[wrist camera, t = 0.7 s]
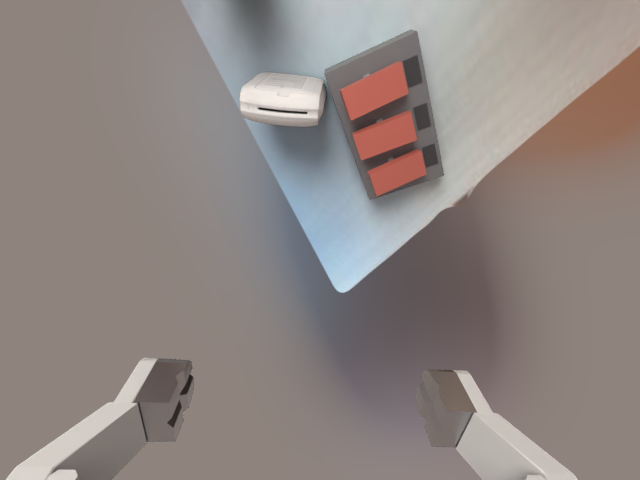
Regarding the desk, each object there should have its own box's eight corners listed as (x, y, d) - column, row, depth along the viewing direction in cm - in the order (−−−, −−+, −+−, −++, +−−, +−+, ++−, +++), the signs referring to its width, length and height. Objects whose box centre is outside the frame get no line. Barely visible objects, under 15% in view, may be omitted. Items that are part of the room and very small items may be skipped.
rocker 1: (397, 61, 38) (401, 61, 37) (404, 92, 40) (408, 93, 39) (338, 90, 39) (341, 91, 37) (348, 118, 41) (351, 120, 40)
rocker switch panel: (410, 29, 39) (418, 31, 36) (437, 164, 50) (445, 177, 47) (325, 69, 43) (324, 75, 39) (367, 188, 53) (369, 201, 50)
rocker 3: (417, 148, 44) (421, 151, 43) (422, 171, 46) (426, 174, 45) (367, 171, 45) (369, 174, 44) (374, 192, 47) (377, 196, 46)
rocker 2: (409, 110, 40) (411, 112, 39) (415, 136, 43) (417, 140, 41) (352, 132, 43) (352, 135, 41) (360, 156, 45) (361, 160, 44)
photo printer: (257, 101, 46) (235, 126, 36) (255, 69, 43) (232, 86, 33) (325, 108, 46) (321, 135, 36) (327, 76, 43) (325, 96, 33)
